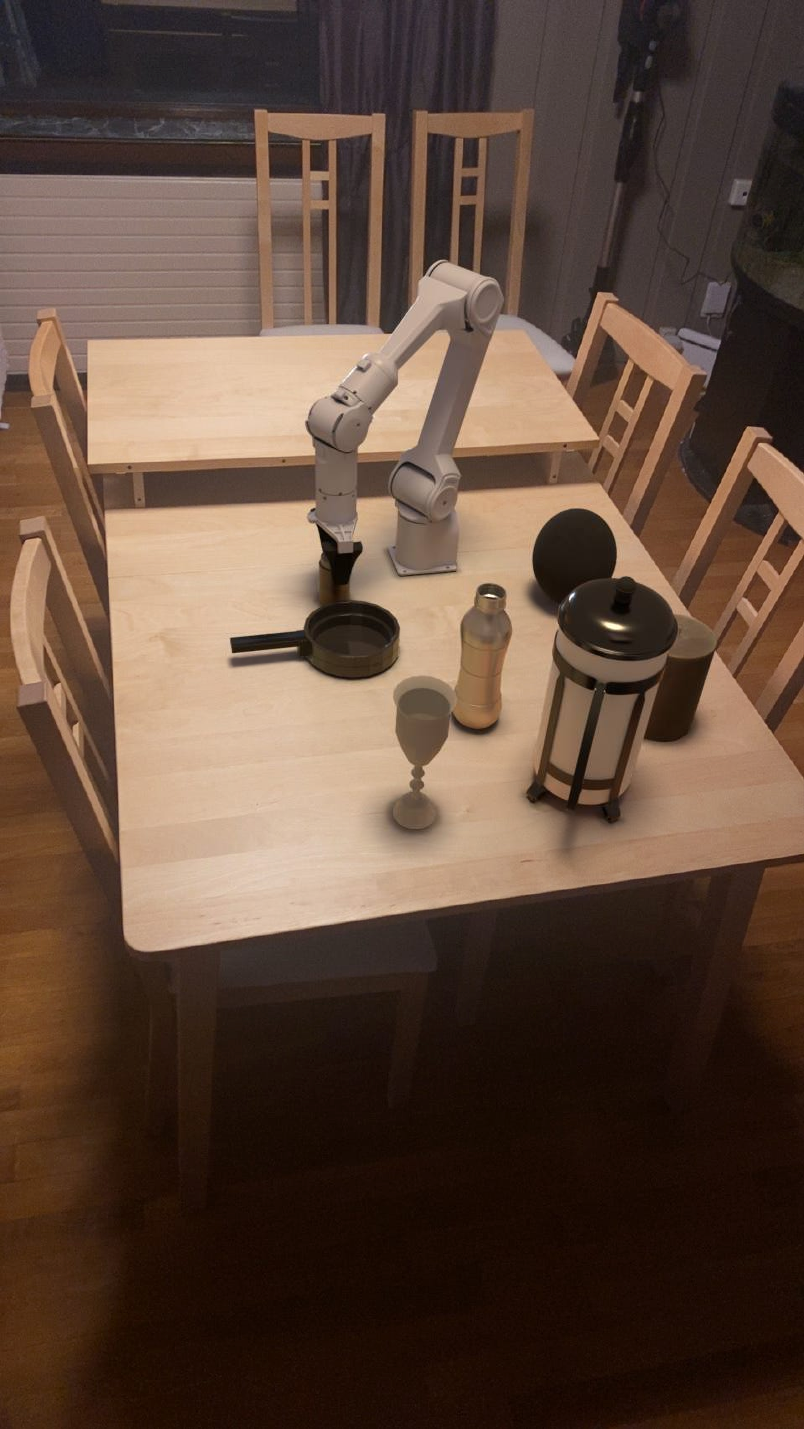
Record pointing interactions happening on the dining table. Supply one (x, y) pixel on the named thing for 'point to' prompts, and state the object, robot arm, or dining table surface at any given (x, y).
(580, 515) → the decorative egg
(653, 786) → the dining table surface
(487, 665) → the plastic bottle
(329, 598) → the salt shaker
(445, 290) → the robot arm
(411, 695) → the chalice
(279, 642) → the skillet handle
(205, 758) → the dining table surface
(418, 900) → the dining table surface
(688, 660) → the pillar candle
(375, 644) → the skillet
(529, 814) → the dining table surface
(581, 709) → the coffee press
